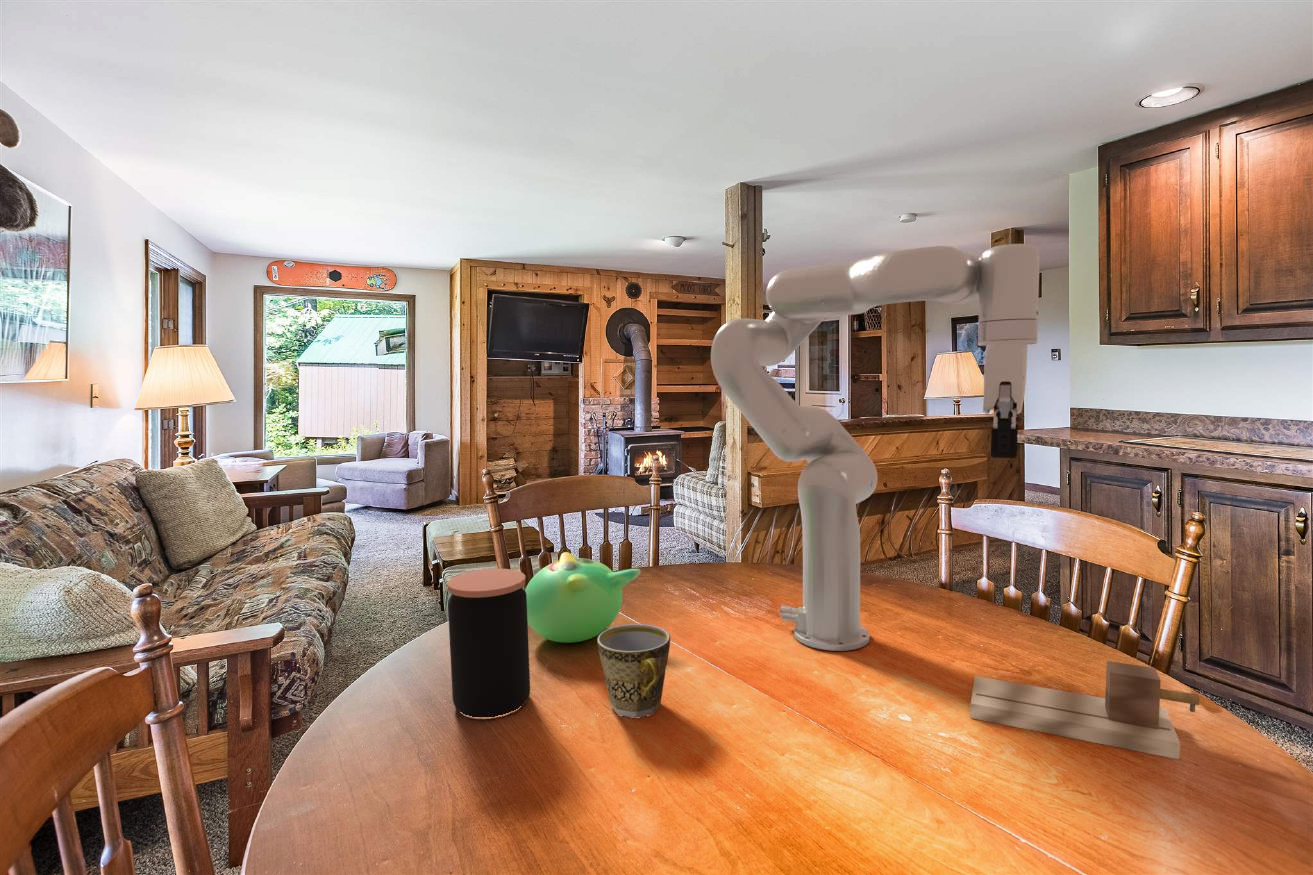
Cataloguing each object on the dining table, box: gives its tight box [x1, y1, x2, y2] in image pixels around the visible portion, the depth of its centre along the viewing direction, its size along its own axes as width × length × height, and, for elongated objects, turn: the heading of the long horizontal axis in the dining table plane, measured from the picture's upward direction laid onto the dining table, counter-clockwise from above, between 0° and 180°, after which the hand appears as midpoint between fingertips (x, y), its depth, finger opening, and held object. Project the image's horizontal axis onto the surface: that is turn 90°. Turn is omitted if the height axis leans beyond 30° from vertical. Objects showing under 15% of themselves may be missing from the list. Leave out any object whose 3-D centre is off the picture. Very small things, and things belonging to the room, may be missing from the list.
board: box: [969, 675, 1181, 760], centre depth 87 cm, size 22×9×2 cm, turn 62°
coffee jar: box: [446, 568, 531, 717], centre depth 94 cm, size 11×11×18 cm
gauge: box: [1104, 660, 1200, 729], centre depth 83 cm, size 9×4×6 cm, turn 62°
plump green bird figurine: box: [524, 551, 642, 644], centre depth 118 cm, size 18×17×15 cm
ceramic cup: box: [596, 623, 671, 718], centre depth 91 cm, size 13×10×10 cm
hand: (1004, 453), depth 98 cm, fingers open, 9 cm apart
